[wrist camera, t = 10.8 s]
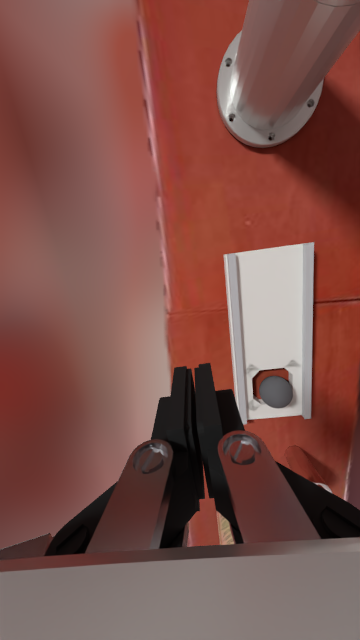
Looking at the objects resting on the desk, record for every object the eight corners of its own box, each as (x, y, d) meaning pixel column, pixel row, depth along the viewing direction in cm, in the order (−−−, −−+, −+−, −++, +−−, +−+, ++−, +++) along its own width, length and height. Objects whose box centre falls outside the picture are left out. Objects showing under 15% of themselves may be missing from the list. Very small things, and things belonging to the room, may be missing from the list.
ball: (258, 405, 39) (253, 375, 39) (287, 401, 39) (282, 371, 39) (268, 414, 34) (262, 381, 34) (301, 410, 34) (295, 376, 34)
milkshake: (308, 439, 42) (344, 493, 32) (303, 462, 43) (337, 521, 34) (283, 438, 42) (311, 492, 32) (279, 461, 43) (305, 520, 34)
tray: (223, 254, 34) (226, 254, 31) (306, 243, 33) (315, 242, 30) (236, 414, 41) (239, 424, 38) (305, 408, 40) (312, 418, 38)
